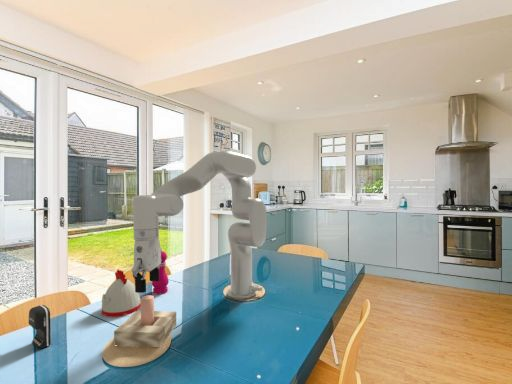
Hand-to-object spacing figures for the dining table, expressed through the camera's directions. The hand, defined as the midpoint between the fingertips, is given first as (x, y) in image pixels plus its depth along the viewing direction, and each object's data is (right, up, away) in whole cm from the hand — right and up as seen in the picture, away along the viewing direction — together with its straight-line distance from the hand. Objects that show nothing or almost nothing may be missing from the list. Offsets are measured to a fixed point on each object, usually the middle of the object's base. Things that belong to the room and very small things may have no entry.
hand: (148, 286), depth 91 cm
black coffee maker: (-31, -16, -6) cm, 35 cm away
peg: (0, -16, 0) cm, 16 cm away
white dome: (-18, -16, +19) cm, 31 cm away
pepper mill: (-8, -15, +37) cm, 41 cm away
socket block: (0, -16, 0) cm, 16 cm away
